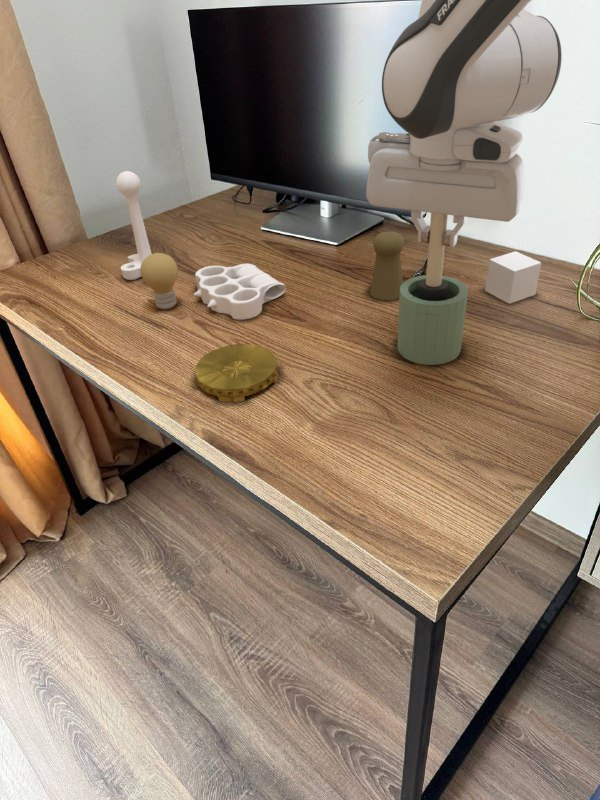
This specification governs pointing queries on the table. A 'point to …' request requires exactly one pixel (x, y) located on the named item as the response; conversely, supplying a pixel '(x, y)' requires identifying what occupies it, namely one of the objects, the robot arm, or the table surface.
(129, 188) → the joystick
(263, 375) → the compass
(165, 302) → the light bulb
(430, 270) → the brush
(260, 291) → the white brass knuckles
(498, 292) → the white cube
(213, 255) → the table surface
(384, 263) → the brown pawn
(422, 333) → the jar
